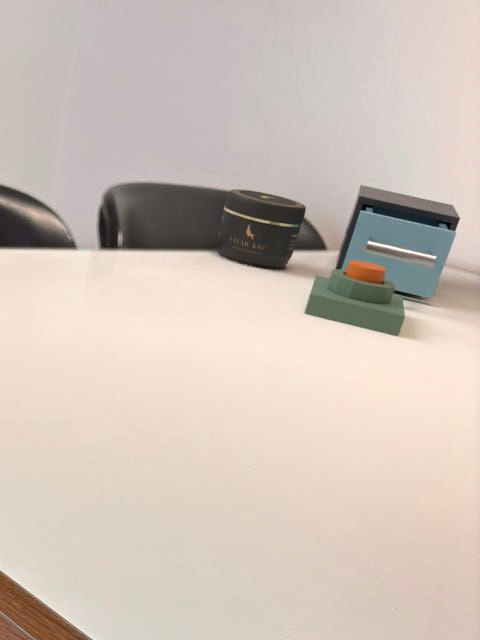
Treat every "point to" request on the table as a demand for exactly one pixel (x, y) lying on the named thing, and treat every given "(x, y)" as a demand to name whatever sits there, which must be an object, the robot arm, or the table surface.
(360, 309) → the panel
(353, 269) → the button
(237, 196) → the jar
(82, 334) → the table surface
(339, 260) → the drawer cabinet
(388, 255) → the drawer
